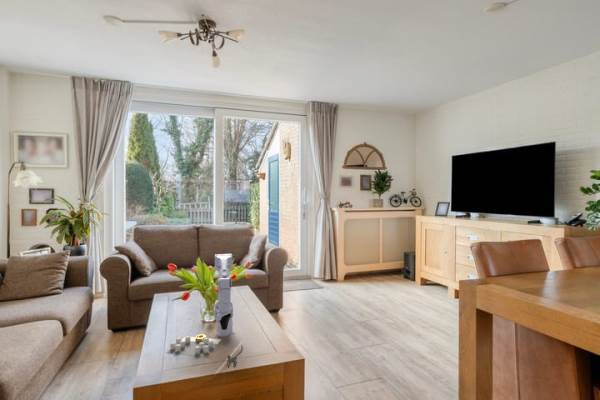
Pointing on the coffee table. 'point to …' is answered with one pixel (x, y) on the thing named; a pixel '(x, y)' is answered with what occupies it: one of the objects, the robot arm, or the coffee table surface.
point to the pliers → (233, 358)
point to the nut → (200, 338)
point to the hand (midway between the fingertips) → (224, 329)
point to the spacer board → (193, 346)
